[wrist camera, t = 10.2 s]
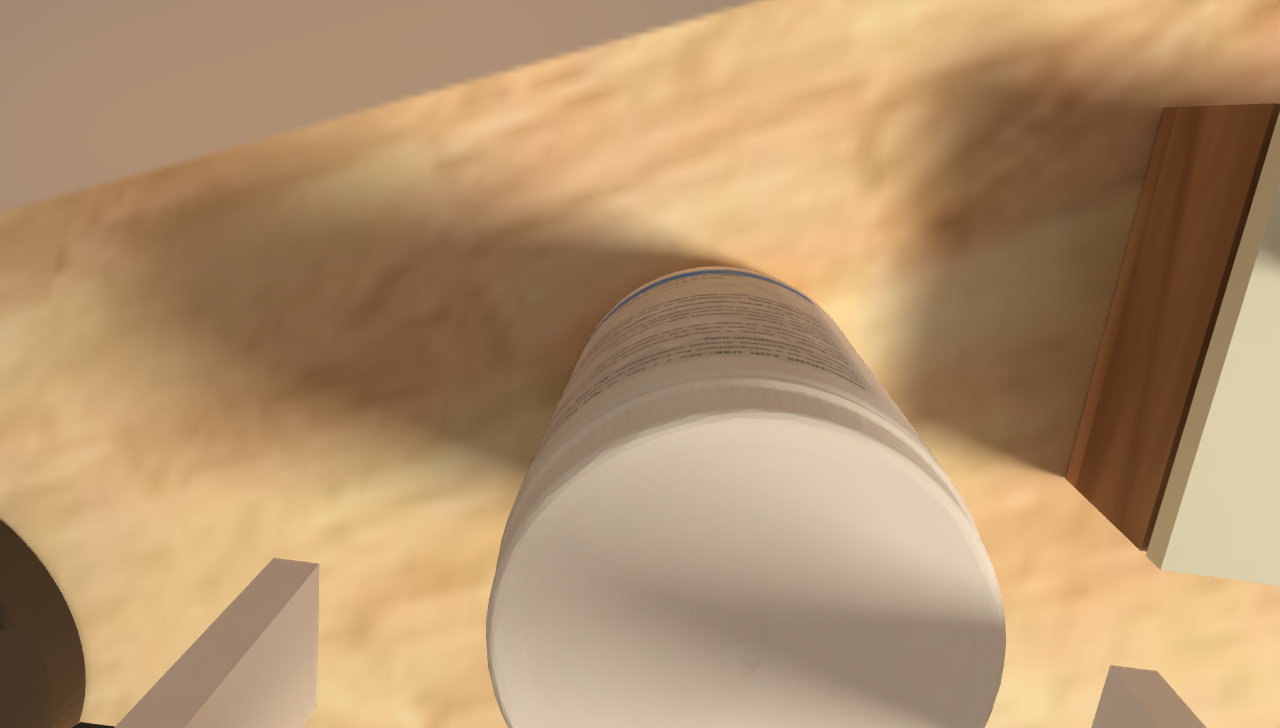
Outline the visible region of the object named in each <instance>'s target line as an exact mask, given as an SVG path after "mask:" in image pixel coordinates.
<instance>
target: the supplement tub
mask: <svg viewBox="0 0 1280 728" xmlns="http://www.w3.org/2000/svg"><path fill="white" fill-rule="evenodd" d="M486 641H487V657H488V668H489V672H490V676H491V680H492V685H493V689H494V693H495V696H496V699H497V702H498V705H499V707H500V710H501V713H502V715H503V717H504V719H505V722H506V724H507V726H508V727H509V728H984V727H985V725H986V723H987V721H988V719H989V716H990V714H991V712H992V709H993V705H994V702H995V699H996V696H997V693H998V690H999V687H1000V684H1001V678H1002V672H1003V666H1004V658H1005V646H1006V633H1005V616H1004V609H1003V602H1002V596H1001V592H1000V587H999V584H998V581H997V578H996V574H995V571H994V568H993V565H992V563H991V561H990V558H989V556H988V554H987V552H986V549H985V547H984V545H983V543H982V541H981V539H980V536H979V533H978V530H977V528H976V525H975V523H974V520H973V518H972V515H971V513H970V512H969V510H968V508H967V506H966V504H965V503H964V501H963V499H962V497H961V496H960V494H959V492H958V490H957V488H956V487H955V485H954V484H953V483H952V482H951V480H950V479H949V477H948V476H947V474H946V472H945V471H944V469H943V468H942V466H941V465H940V464H939V462H938V461H937V460H936V458H935V457H934V456H933V454H932V453H931V452H930V450H929V449H928V447H927V446H926V445H925V443H924V442H923V440H922V439H921V438H920V436H919V435H918V434H917V432H916V431H915V429H914V428H913V427H912V425H911V424H910V422H909V421H908V420H907V418H906V417H905V416H904V414H903V413H902V412H901V410H900V409H899V408H898V406H897V405H896V404H895V403H894V401H893V400H892V399H891V397H890V396H889V395H888V393H887V392H886V391H885V389H884V388H883V386H882V385H881V384H880V382H879V381H878V379H877V378H876V377H875V375H874V374H873V372H872V371H871V370H870V368H869V367H868V365H867V364H866V363H865V362H864V360H863V359H862V358H861V356H860V355H859V354H858V353H857V351H856V350H855V349H854V347H853V346H852V345H851V343H850V342H849V340H848V339H847V338H846V336H845V335H844V334H843V332H842V331H841V329H840V328H839V327H838V325H837V324H836V323H835V322H834V320H833V319H832V318H831V317H830V316H829V315H828V314H827V313H826V312H825V311H824V310H823V309H822V308H821V307H820V306H819V305H818V304H817V303H815V302H814V301H813V300H812V299H811V298H809V297H808V296H807V295H805V294H804V293H802V292H801V291H799V290H798V289H796V288H795V287H793V286H791V285H789V284H787V283H785V282H783V281H781V280H778V279H776V278H773V277H771V276H768V275H765V274H762V273H759V272H755V271H752V270H748V269H743V268H736V267H725V266H709V267H698V268H691V269H685V270H681V271H677V272H674V273H671V274H668V275H664V276H662V277H659V278H657V279H655V280H653V281H651V282H649V283H646V284H644V285H643V286H641V287H639V288H638V289H636V290H634V291H633V292H631V293H630V294H628V295H627V296H626V297H624V298H623V299H622V300H621V301H619V302H618V303H617V304H616V306H615V307H614V308H613V309H612V310H611V311H610V312H609V313H607V314H606V315H605V317H604V318H603V319H602V320H601V322H600V323H599V324H598V325H597V327H596V328H595V330H594V331H593V333H592V334H591V336H590V338H589V340H588V342H587V343H586V345H585V347H584V349H583V351H582V353H581V355H580V357H579V360H578V362H577V364H576V366H575V368H574V371H573V373H572V375H571V377H570V379H569V381H568V384H567V386H566V388H565V390H564V392H563V394H562V397H561V399H560V401H559V403H558V405H557V408H556V410H555V412H554V414H553V417H552V419H551V421H550V423H549V426H548V428H547V430H546V432H545V435H544V437H543V439H542V441H541V443H540V445H539V448H538V450H537V452H536V454H535V456H534V459H533V461H532V463H531V465H530V467H529V470H528V472H527V474H526V476H525V479H524V481H523V483H522V485H521V488H520V490H519V493H518V495H517V498H516V500H515V503H514V505H513V507H512V510H511V512H510V515H509V517H508V520H507V524H506V527H505V530H504V534H503V537H502V541H501V546H500V551H499V555H498V561H497V566H496V572H495V577H494V580H493V585H492V589H491V594H490V598H489V604H488V612H487V619H486Z"/></svg>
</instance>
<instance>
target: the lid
mask: <svg viewBox="0 0 1280 728" xmlns="http://www.w3.org/2000/svg"><path fill="white" fill-rule="evenodd" d="M1146 556H1147V557H1148V558H1149V559H1150V560H1151V561H1152V562H1153V563H1154V564H1155V565H1156V566H1157V567H1158V568H1159V569H1160V570H1165V571H1172V572H1180V573H1187V574H1194V575H1202V576H1209V577H1216V578H1224V579H1231V580H1238V581H1246V582H1253V583H1260V584H1268V585H1275V586H1280V112H1279V115H1278V119H1277V122H1276V125H1275V129H1274V132H1273V135H1272V139H1271V142H1270V145H1269V149H1268V152H1267V155H1266V159H1265V162H1264V165H1263V168H1262V172H1261V175H1260V178H1259V182H1258V185H1257V188H1256V192H1255V195H1254V198H1253V202H1252V205H1251V208H1250V212H1249V215H1248V218H1247V222H1246V225H1245V228H1244V231H1243V235H1242V238H1241V241H1240V245H1239V248H1238V251H1237V255H1236V258H1235V261H1234V265H1233V268H1232V271H1231V275H1230V278H1229V281H1228V285H1227V288H1226V291H1225V294H1224V298H1223V301H1222V304H1221V308H1220V311H1219V314H1218V318H1217V321H1216V324H1215V328H1214V331H1213V334H1212V338H1211V341H1210V344H1209V348H1208V351H1207V354H1206V357H1205V361H1204V364H1203V367H1202V371H1201V374H1200V377H1199V381H1198V384H1197V387H1196V391H1195V394H1194V397H1193V401H1192V404H1191V407H1190V411H1189V414H1188V417H1187V421H1186V424H1185V427H1184V430H1183V434H1182V437H1181V440H1180V444H1179V447H1178V450H1177V454H1176V457H1175V460H1174V464H1173V467H1172V470H1171V474H1170V477H1169V480H1168V484H1167V487H1166V490H1165V493H1164V497H1163V500H1162V503H1161V507H1160V510H1159V513H1158V517H1157V520H1156V523H1155V527H1154V530H1153V533H1152V537H1151V540H1150V543H1149V547H1148V550H1147V553H1146Z"/></svg>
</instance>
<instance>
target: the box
mask: <svg viewBox="0 0 1280 728" xmlns="http://www.w3.org/2000/svg"><path fill="white" fill-rule="evenodd" d="M1279 112H1280V104H1275V103H1273V104H1249V105H1225V106H1201V107H1177V108H1164V110H1163V114H1162V118H1161V121H1160V125H1159V129H1158V133H1157V136H1156V140H1155V144H1154V148H1153V151H1152V155H1151V159H1150V163H1149V166H1148V170H1147V174H1146V178H1145V181H1144V185H1143V189H1142V193H1141V196H1140V200H1139V204H1138V208H1137V211H1136V215H1135V219H1134V223H1133V226H1132V230H1131V234H1130V238H1129V241H1128V245H1127V249H1126V253H1125V256H1124V260H1123V264H1122V268H1121V271H1120V275H1119V279H1118V282H1117V286H1116V290H1115V294H1114V297H1113V301H1112V305H1111V309H1110V312H1109V316H1108V320H1107V324H1106V327H1105V331H1104V335H1103V339H1102V342H1101V346H1100V350H1099V354H1098V357H1097V361H1096V365H1095V369H1094V372H1093V376H1092V380H1091V384H1090V387H1089V391H1088V395H1087V399H1086V402H1085V406H1084V410H1083V414H1082V417H1081V421H1080V425H1079V429H1078V432H1077V436H1076V440H1075V443H1074V447H1073V451H1072V455H1071V458H1070V462H1069V466H1068V470H1067V473H1066V477H1065V479H1066V480H1067V481H1069V482H1070V483H1071V484H1072V485H1073V486H1074V487H1075V488H1076V489H1077V490H1078V491H1079V492H1080V493H1081V494H1082V495H1083V496H1084V497H1085V498H1086V499H1087V500H1088V501H1089V502H1090V503H1091V504H1092V505H1093V506H1095V507H1096V508H1097V509H1098V510H1099V511H1100V512H1101V513H1102V514H1103V515H1104V516H1105V517H1106V518H1107V519H1108V520H1109V521H1110V522H1111V523H1112V524H1113V525H1114V526H1115V527H1116V528H1117V529H1118V530H1120V531H1121V532H1122V533H1123V534H1124V535H1125V536H1126V537H1127V538H1128V539H1129V540H1130V541H1131V542H1132V543H1133V544H1134V545H1135V546H1136V547H1137V548H1138V549H1139V550H1140V551H1147V550H1148V547H1149V543H1150V540H1151V537H1152V533H1153V530H1154V527H1155V523H1156V520H1157V517H1158V513H1159V510H1160V507H1161V503H1162V500H1163V497H1164V493H1165V490H1166V487H1167V484H1168V480H1169V477H1170V474H1171V470H1172V467H1173V464H1174V460H1175V457H1176V454H1177V450H1178V447H1179V444H1180V440H1181V437H1182V434H1183V430H1184V427H1185V424H1186V421H1187V417H1188V414H1189V411H1190V407H1191V404H1192V401H1193V397H1194V394H1195V391H1196V387H1197V384H1198V381H1199V377H1200V374H1201V371H1202V367H1203V364H1204V361H1205V357H1206V354H1207V351H1208V348H1209V344H1210V341H1211V338H1212V334H1213V331H1214V328H1215V324H1216V321H1217V318H1218V314H1219V311H1220V308H1221V304H1222V301H1223V298H1224V294H1225V291H1226V288H1227V285H1228V281H1229V278H1230V275H1231V271H1232V268H1233V265H1234V261H1235V258H1236V255H1237V251H1238V248H1239V245H1240V241H1241V238H1242V235H1243V231H1244V228H1245V225H1246V222H1247V218H1248V215H1249V212H1250V208H1251V205H1252V202H1253V198H1254V195H1255V192H1256V188H1257V185H1258V182H1259V178H1260V175H1261V172H1262V168H1263V165H1264V162H1265V159H1266V155H1267V152H1268V149H1269V145H1270V142H1271V139H1272V135H1273V132H1274V129H1275V125H1276V122H1277V119H1278V115H1279Z"/></svg>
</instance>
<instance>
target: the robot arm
mask: <svg viewBox="0 0 1280 728" xmlns="http://www.w3.org/2000/svg"><path fill="white" fill-rule="evenodd" d="M318 608H319V564H316V563H308V562H301V561H293V560H285V559H277V558H273V559H272V560H271V562H270V563H269V564H268V565H267V566H266V567H265V568H264V569H263V570H262V571H261V572H260V573H259V574H258V575H257V576H256V578H255V579H254V580H253V581H252V582H251V583H250V584H249V585H248V586H247V587H246V588H245V589H244V590H243V591H242V592H241V594H240V595H239V596H238V597H237V598H236V599H235V600H234V601H233V602H232V603H231V604H230V605H229V606H228V607H227V608H226V609H225V611H224V612H223V613H222V614H221V615H220V616H219V617H218V618H217V619H216V620H215V621H214V622H213V623H212V624H211V625H210V627H209V628H208V629H207V630H206V631H205V632H204V633H203V634H202V635H201V636H200V637H199V638H198V639H197V640H196V641H195V642H194V644H193V645H192V646H191V647H190V648H189V649H188V650H187V651H186V652H185V653H184V654H183V655H182V656H181V657H180V658H179V660H178V661H177V662H176V663H175V664H174V665H173V666H172V667H171V668H170V669H169V670H168V671H167V672H166V673H165V674H164V676H163V677H162V678H161V679H160V680H159V681H158V682H157V683H156V684H155V685H154V686H153V687H152V688H151V689H150V690H149V691H148V693H147V694H146V695H145V696H144V697H143V698H142V699H141V700H140V701H139V702H138V703H137V704H136V705H135V706H134V707H133V709H132V710H131V711H130V712H129V713H128V714H127V715H126V716H125V717H124V718H123V719H122V720H121V721H120V722H119V723H118V724H117V726H116V727H114V726H106V725H98V724H91V723H83V722H80V723H79V720H80V717H81V713H82V709H83V704H84V697H85V684H86V682H85V664H84V656H83V651H82V645H81V641H80V638H79V634H78V631H77V628H76V625H75V622H74V619H73V617H72V614H71V612H70V610H69V607H68V605H67V603H66V601H65V599H64V597H63V595H62V594H61V592H60V590H59V588H58V587H57V585H56V583H55V582H54V580H53V579H52V577H51V576H50V574H49V573H48V571H47V570H46V569H45V567H44V566H43V565H42V563H41V562H40V561H39V560H38V558H37V557H36V556H35V555H34V553H33V552H32V551H31V550H30V549H29V548H28V547H27V546H26V544H25V543H24V542H23V541H22V540H21V539H20V538H19V537H18V536H17V535H16V534H15V533H14V532H12V531H11V530H10V529H9V528H8V527H7V526H6V525H5V524H3V523H2V522H1V521H0V728H303V726H304V725H305V723H306V722H307V720H308V719H309V717H310V715H311V714H312V712H313V711H314V709H315V707H316V705H317V656H318ZM1092 728H1206V727H1205V726H1204V724H1203V723H1202V722H1201V721H1200V720H1199V719H1198V718H1197V716H1196V715H1195V714H1194V713H1193V712H1192V711H1191V710H1190V708H1189V707H1188V706H1187V705H1186V704H1185V703H1184V702H1183V700H1182V699H1181V698H1180V697H1179V696H1178V695H1177V694H1176V692H1175V691H1174V690H1173V689H1172V688H1171V687H1170V685H1169V684H1168V683H1167V682H1166V681H1165V680H1164V679H1163V677H1162V676H1161V675H1160V674H1159V673H1158V672H1157V671H1151V670H1143V669H1136V668H1128V667H1120V666H1112V665H1110V668H1109V671H1108V675H1107V678H1106V681H1105V685H1104V688H1103V691H1102V695H1101V698H1100V701H1099V705H1098V708H1097V711H1096V715H1095V718H1094V721H1093V725H1092Z"/></svg>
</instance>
